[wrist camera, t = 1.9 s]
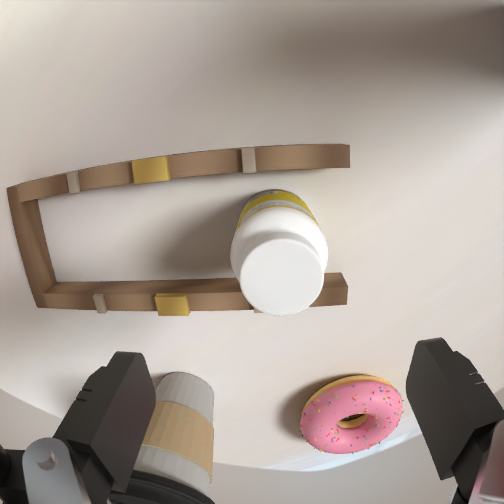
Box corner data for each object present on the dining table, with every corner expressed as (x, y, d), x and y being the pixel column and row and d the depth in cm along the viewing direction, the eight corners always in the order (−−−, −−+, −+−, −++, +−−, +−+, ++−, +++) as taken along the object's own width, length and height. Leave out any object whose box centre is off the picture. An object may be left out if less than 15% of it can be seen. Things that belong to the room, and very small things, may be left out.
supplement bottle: (295, 267, 25) (308, 342, 16) (229, 242, 25) (206, 308, 16) (323, 203, 23) (358, 249, 14) (254, 176, 23) (245, 205, 14)
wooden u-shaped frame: (341, 142, 22) (351, 144, 19) (340, 289, 26) (348, 309, 23) (23, 182, 24) (1, 188, 21) (50, 296, 28) (34, 310, 25)
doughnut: (385, 428, 32) (393, 454, 28) (296, 437, 33) (297, 465, 29) (407, 361, 28) (420, 388, 24) (299, 371, 29) (302, 402, 25)
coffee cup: (138, 351, 29) (75, 474, 15) (234, 365, 29) (212, 509, 15) (149, 413, 32) (110, 521, 18) (230, 425, 32) (215, 544, 18)
